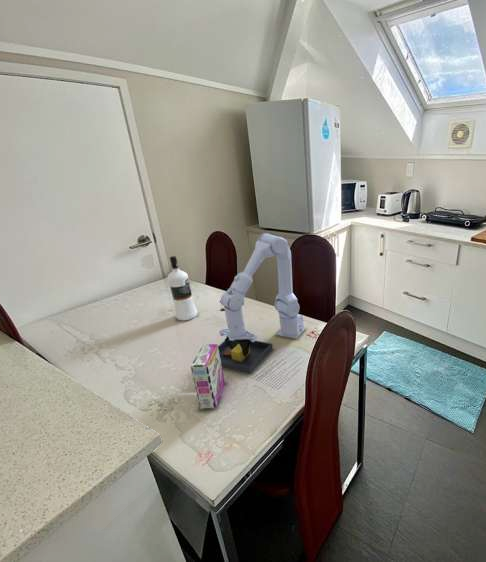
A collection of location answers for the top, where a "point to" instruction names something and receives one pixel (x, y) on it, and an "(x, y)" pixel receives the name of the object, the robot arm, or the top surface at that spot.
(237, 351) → the sponge
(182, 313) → the vodka
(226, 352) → the scrap
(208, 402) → the candy bar box
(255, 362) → the dark grey tray
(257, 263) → the robot arm
